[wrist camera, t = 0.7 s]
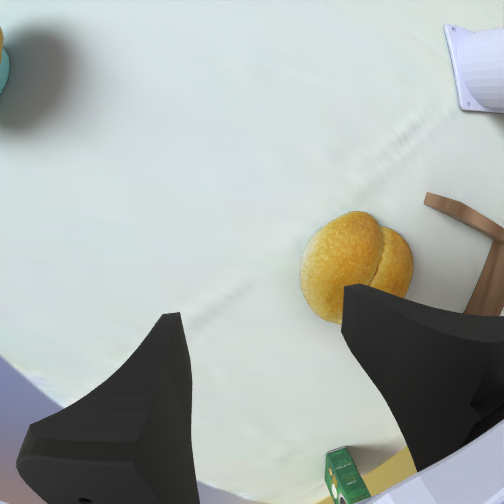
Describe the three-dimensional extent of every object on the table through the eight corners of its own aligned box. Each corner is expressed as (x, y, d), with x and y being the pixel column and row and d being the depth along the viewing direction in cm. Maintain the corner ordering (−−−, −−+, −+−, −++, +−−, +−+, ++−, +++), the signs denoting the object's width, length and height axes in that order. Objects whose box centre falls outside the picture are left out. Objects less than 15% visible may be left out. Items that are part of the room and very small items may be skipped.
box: (361, 353, 26) (382, 380, 23) (427, 192, 22) (461, 202, 19) (446, 356, 30) (466, 375, 26) (500, 233, 26) (527, 244, 22)
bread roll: (328, 192, 21) (356, 202, 17) (411, 243, 24) (441, 260, 20) (272, 294, 23) (288, 322, 19) (361, 328, 26) (383, 354, 22)
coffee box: (343, 473, 34) (377, 545, 22) (323, 480, 34) (355, 554, 22) (347, 444, 31) (391, 528, 19) (324, 452, 31) (364, 539, 19)
